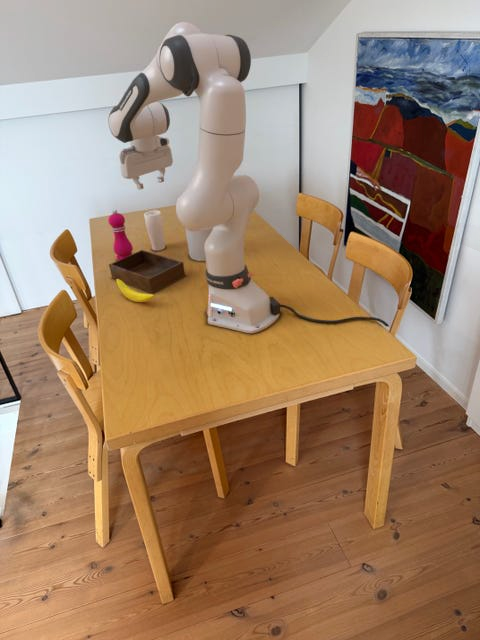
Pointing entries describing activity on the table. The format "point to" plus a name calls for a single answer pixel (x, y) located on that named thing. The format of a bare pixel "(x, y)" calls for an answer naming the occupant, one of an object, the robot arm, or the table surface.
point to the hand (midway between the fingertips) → (151, 185)
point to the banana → (133, 293)
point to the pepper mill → (120, 235)
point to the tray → (147, 270)
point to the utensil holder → (197, 243)
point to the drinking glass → (155, 229)
